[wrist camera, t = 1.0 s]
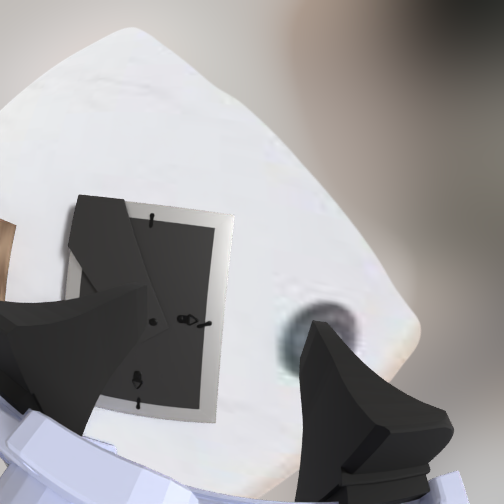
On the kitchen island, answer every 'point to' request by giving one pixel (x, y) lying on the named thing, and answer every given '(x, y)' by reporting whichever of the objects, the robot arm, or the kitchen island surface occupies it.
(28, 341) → the robot arm
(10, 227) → the walnut bookend
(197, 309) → the picture frame
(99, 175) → the kitchen island surface
